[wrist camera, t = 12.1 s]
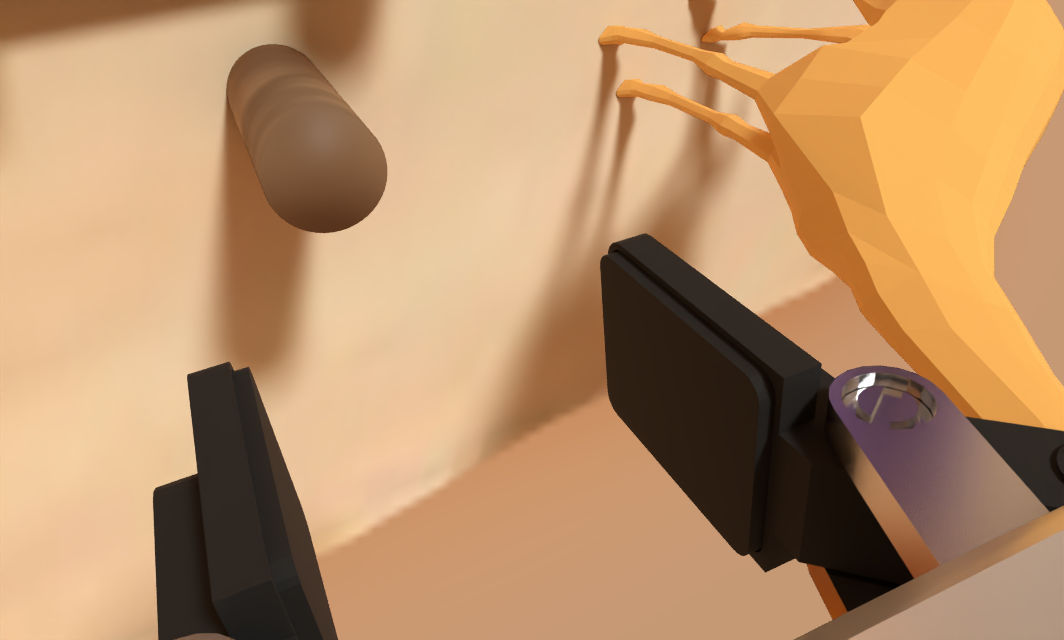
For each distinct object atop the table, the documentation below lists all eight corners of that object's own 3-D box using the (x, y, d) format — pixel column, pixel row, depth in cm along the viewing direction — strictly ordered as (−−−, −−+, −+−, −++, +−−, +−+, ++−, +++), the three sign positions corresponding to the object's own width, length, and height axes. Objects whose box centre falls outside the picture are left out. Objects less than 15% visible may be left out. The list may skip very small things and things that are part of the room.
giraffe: (453, 222, 30) (1063, 932, 10) (400, 123, 27) (1088, 828, 8) (799, 15, 32) (1865, 288, 12) (781, -97, 29) (2109, 24, 10)
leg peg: (310, 35, 25) (372, 100, 19) (333, 127, 26) (397, 214, 20) (213, 55, 24) (244, 129, 18) (243, 148, 26) (280, 246, 19)
